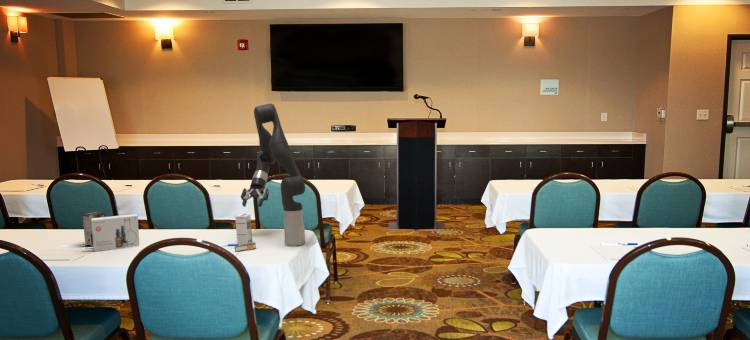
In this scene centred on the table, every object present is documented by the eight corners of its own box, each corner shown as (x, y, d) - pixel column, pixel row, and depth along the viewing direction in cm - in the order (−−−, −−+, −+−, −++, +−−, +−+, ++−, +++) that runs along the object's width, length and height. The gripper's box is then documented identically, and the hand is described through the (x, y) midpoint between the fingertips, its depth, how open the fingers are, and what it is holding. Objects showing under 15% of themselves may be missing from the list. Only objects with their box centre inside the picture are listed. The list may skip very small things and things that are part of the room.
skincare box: (94, 252, 291) (91, 220, 289) (93, 249, 296) (90, 218, 294) (140, 246, 301) (137, 215, 299) (138, 243, 306) (136, 213, 304)
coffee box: (101, 241, 313) (99, 211, 311) (108, 242, 310) (105, 212, 308) (84, 245, 306) (81, 214, 304) (91, 246, 302) (88, 215, 300)
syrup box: (247, 244, 298) (246, 215, 296) (236, 244, 299) (235, 215, 297) (252, 241, 304) (250, 213, 302) (241, 241, 305) (239, 213, 303)
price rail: (254, 247, 291) (254, 242, 291) (256, 248, 289) (256, 243, 289) (234, 251, 286) (234, 246, 285) (236, 252, 284) (236, 247, 284)
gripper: (244, 176, 318) (236, 201, 308) (269, 176, 315) (262, 202, 305) (249, 185, 324) (241, 210, 314) (273, 185, 321) (266, 210, 311)
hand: (251, 206), depth 310 cm, fingers open, 8 cm apart
